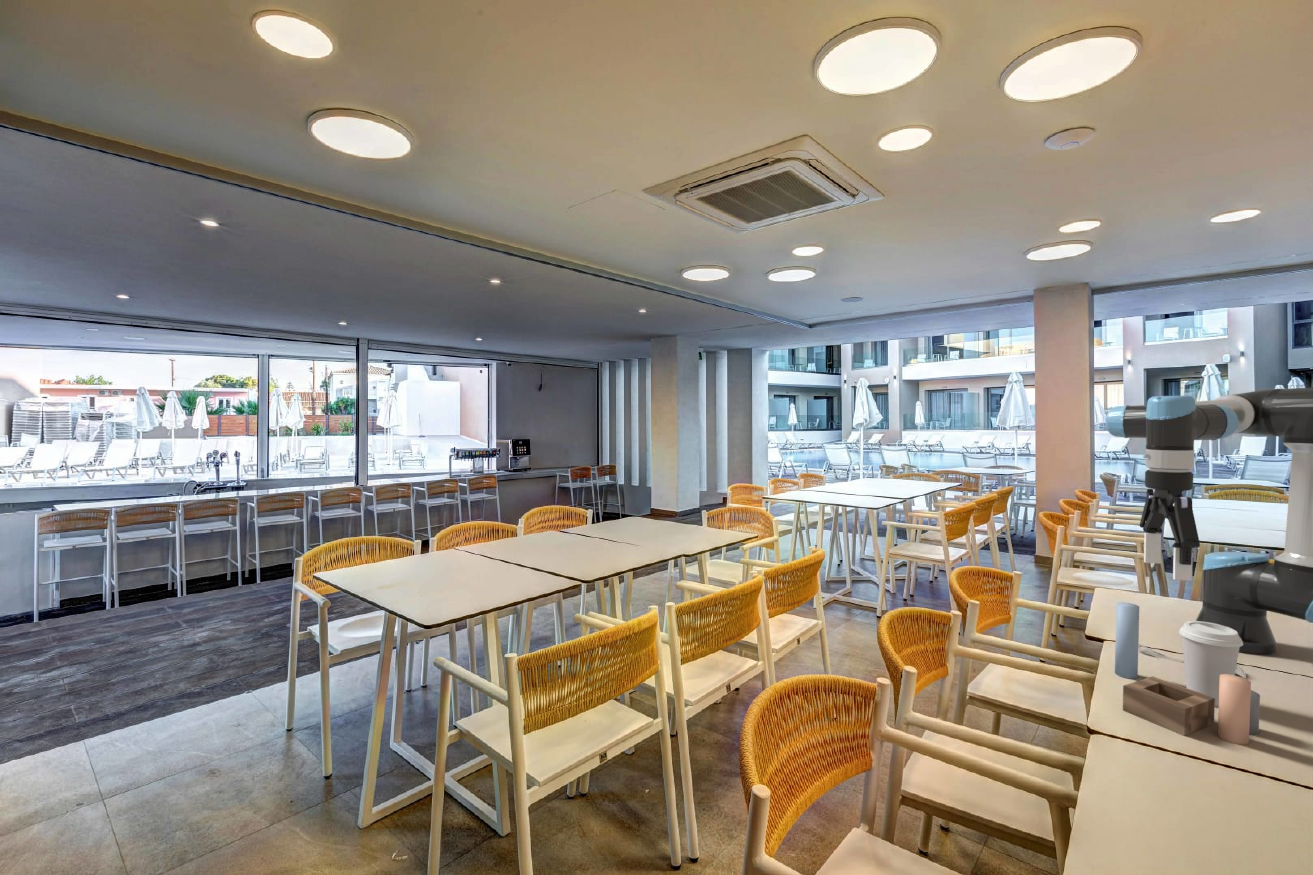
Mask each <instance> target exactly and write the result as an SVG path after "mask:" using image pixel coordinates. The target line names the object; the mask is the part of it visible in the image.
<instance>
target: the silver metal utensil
mask: <svg viewBox="0 0 1313 875" xmlns="http://www.w3.org/2000/svg"><path fill="white" fill-rule="evenodd" d="M1138 651H1142V652H1143V653H1146V655H1148V656H1149V655H1150V656H1152V657H1155V658H1158V659H1163V660H1170V661H1173V662H1178V663H1184V659H1178V658H1174V657H1170V656H1168V655H1165V654H1162V653H1161V652H1157V651H1156V650H1153V649H1152V648H1149V647H1147V646H1145V645H1143V644H1141V643H1138ZM1235 675H1237V676H1239V677H1242V678H1245V679H1247V675H1246V673H1245V671H1244V670H1243V668H1242V667H1241V666H1240V665H1239V664H1237V666H1236V672H1235Z"/></svg>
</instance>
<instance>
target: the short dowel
mask: <svg viewBox="0 0 1313 875" xmlns="http://www.w3.org/2000/svg"><path fill="white" fill-rule="evenodd" d="M1260 695H1261V694H1259V693H1258V692H1256V691H1254V690H1251V696H1250V725H1249V735H1258V734H1259V733H1260V732H1259V731H1260V705H1261V704H1260V703H1261V702H1260V700H1261V696H1260Z"/></svg>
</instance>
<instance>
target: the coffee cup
mask: <svg viewBox="0 0 1313 875" xmlns="http://www.w3.org/2000/svg"><path fill="white" fill-rule="evenodd" d="M1178 633H1179V635H1181V639H1182V650H1183V660H1184V675H1185V686H1186V687H1185V688H1187V689H1190V690H1193V691H1196V692H1199V693H1202V694H1204V695H1207V696H1210V697H1213V698H1215V708H1219V682H1220V675H1221V674H1229V675H1235V676H1236V673H1235V672H1236V666H1237V665H1238V664H1237V663H1238V659H1239V658H1238V657H1239V653H1240V652H1239V648H1240V647H1241V646H1243V641H1242V640H1241V638H1240V637H1239V635H1238V632H1237V631H1235V630H1234V629H1232V628H1229V627H1226V626H1223V625H1219V624H1214V623H1209V622H1202V621H1196V620H1187V621H1184V623H1183V625H1182V626H1181V627H1180V628H1179V630H1178Z"/></svg>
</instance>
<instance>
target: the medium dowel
mask: <svg viewBox="0 0 1313 875" xmlns="http://www.w3.org/2000/svg"><path fill="white" fill-rule="evenodd" d="M1251 686H1252V682H1251V681H1250V680H1249V679H1247V678H1242V677H1241V676H1239V675H1236V674H1235V675H1229V674H1221V675H1220V682H1219V707H1218V717H1217V718H1218V720H1217V721H1218V722H1217V736H1218V737H1219V738H1221V739H1222V740H1224V741H1226V740H1227V741H1226V742H1229V743H1232V744H1236V745H1242V746H1245V745H1249V743H1250V734H1249V725H1250V696H1251V688H1252V687H1251Z"/></svg>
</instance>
